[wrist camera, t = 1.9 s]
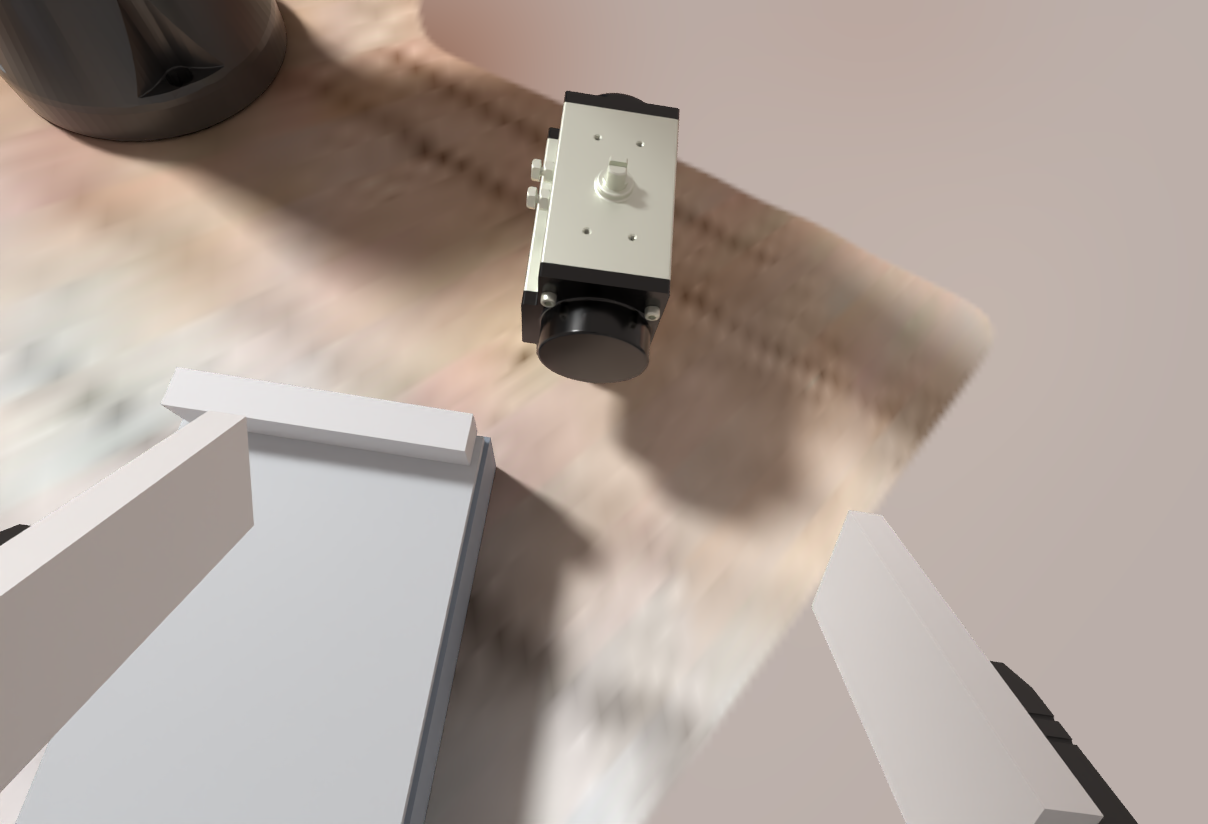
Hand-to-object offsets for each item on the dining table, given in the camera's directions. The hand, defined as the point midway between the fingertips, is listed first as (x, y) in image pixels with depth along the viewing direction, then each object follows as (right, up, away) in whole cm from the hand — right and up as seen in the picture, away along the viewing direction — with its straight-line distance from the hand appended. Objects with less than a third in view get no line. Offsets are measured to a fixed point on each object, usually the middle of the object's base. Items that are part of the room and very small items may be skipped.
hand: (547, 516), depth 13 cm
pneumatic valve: (0, +7, +20) cm, 21 cm away
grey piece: (-11, -9, +12) cm, 19 cm away
